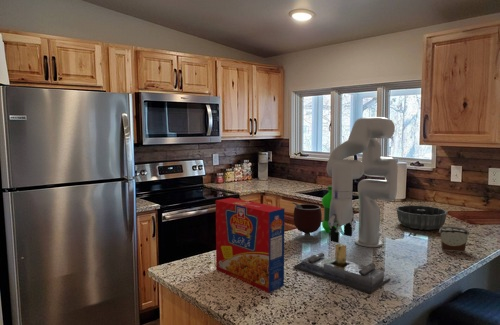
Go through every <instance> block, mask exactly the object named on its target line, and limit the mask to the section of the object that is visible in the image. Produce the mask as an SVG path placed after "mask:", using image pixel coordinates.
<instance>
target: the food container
mask: <svg viewBox="0 0 500 325" xmlns="http://www.w3.org/2000/svg"><path fill="white" fill-rule="evenodd" d="M438 233H440V244H441V245H440V246H441V251H450V252H452V251H453V252H462V253H463V252H464V253H465V252H466V247H467V241H468V236H470V232H469V229H466V228H463V227H458V226H454V225H452V226H449V225H448V226H447V225H446V226H444V225H443V226H442V227H441V228H439V231H438Z"/></svg>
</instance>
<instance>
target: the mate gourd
mask: <svg viewBox="0 0 500 325" xmlns="http://www.w3.org/2000/svg"><path fill="white" fill-rule="evenodd" d="M292 204H293V205H294V209H293V223H294V226H295V228H296V229H297V230H298V231H299V232H302V233H304V234H302V235H297V236H296V237H294V241H296V242H297V243H300V244H304V245H305V244H306V245H314V244H317V243H319V242H320V241H321V240H320V238H319V237H318V236H315V235H311V234H312V233H315V232H318V230H319V229H320V228H321V226H322V221H323V220H322V219H323V218H322V215H323V214H322V207H321V206H320V205H318V204H312V203H299V204H298V203H297V202H294V201H292Z"/></svg>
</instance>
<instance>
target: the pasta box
mask: <svg viewBox="0 0 500 325" xmlns="http://www.w3.org/2000/svg"><path fill="white" fill-rule="evenodd" d="M215 244H216V245H215V250H216V251H215V256H216V257H215V259H216V260H215V264H216V271H218V272H220V273H222V274H224V275H227V276H229V277H232V278H233V279H237V280H239V281H241V282H243V283H246V284H247V285H249V286H252V287H254V288H256V289H259V290H260V291H261V290H262V291H263V292H266V293H268V294H270V293H272V292H273V291H276V290H278V289H281V288H283V287H284V286H285V208H283V207H279V206H273V205H270V204H264V203H259V202H255V201H249V200H245V199H244V200H243V199H241V198H234V197H227V198H223V199H216V200H215Z"/></svg>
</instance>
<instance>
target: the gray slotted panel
mask: <svg viewBox="0 0 500 325" xmlns="http://www.w3.org/2000/svg"><path fill="white" fill-rule="evenodd" d="M293 267H294V269H295V270H298V271H301V272H304V273H307V274H311V275H314V276H315V277H318V278H322V279H325V280H327V281H330V282H333V283H336V284H339V285H343V286H344V287H349V288H351V289H354V290H357V291H359V292H362V293H366V294H368V295H372V293H374V292H375V291H377V290H379V289H380V288H381V287H383V286H384V285H385V284H386V283H388V282H389V281H391V276H387V275H384V271H383V270H382V269H381V270H380V269H377V265H376V264H375V263H374V262H372V263H369V264H368V265H367V266H366V265H362V264H359V263H355V262H352V261H348V260H346V267H344V268H342V267H339V266H336V265H335V258H332V259H331V258H326V257H325V253H324V252H319V253H318V254H314V255H313V254H312V255H310V256H308V257H306V258H303V259H302V260H301V262H300V263H297V264H295V265H294V266H293Z"/></svg>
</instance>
